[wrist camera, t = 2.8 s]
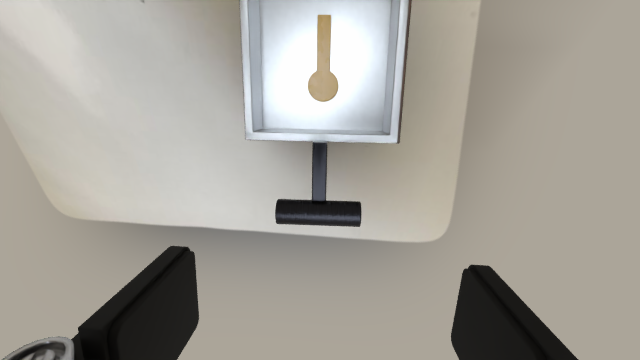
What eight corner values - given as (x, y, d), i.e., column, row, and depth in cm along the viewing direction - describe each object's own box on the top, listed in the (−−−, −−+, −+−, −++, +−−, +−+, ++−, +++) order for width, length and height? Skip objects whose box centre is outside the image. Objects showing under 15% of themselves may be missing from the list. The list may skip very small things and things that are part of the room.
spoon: (337, 102, 24) (337, 102, 24) (307, 101, 24) (307, 101, 24) (340, 16, 23) (340, 14, 22) (308, 16, 23) (308, 14, 22)
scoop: (383, 204, 27) (396, 232, 21) (260, 200, 27) (240, 226, 21) (401, -42, 22) (425, -92, 16) (251, -42, 22) (223, -91, 17)
